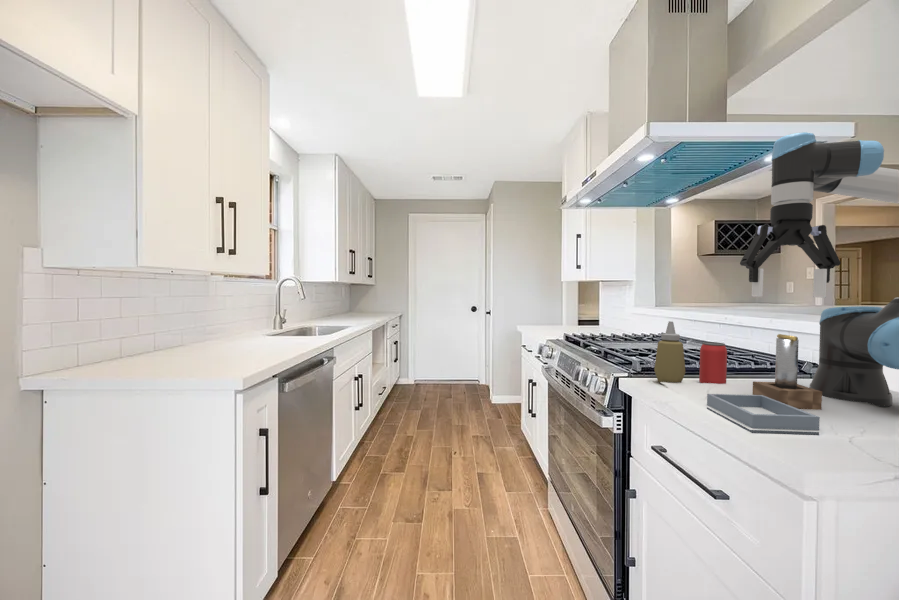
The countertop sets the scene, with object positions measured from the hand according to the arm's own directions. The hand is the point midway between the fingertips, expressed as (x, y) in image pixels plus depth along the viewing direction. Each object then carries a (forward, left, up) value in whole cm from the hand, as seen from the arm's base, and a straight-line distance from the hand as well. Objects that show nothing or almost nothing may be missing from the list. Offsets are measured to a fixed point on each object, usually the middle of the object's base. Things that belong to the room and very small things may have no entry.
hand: (788, 297), depth 96 cm
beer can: (+4, -23, -26) cm, 35 cm away
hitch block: (0, 0, -26) cm, 26 cm away
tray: (+13, +11, -26) cm, 31 cm away
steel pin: (0, 0, -25) cm, 25 cm away
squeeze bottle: (+16, -23, -26) cm, 38 cm away
